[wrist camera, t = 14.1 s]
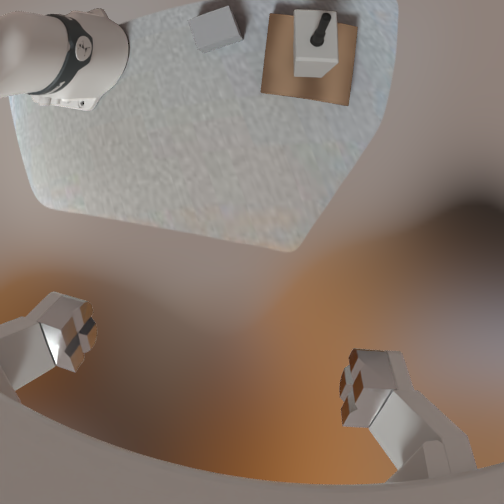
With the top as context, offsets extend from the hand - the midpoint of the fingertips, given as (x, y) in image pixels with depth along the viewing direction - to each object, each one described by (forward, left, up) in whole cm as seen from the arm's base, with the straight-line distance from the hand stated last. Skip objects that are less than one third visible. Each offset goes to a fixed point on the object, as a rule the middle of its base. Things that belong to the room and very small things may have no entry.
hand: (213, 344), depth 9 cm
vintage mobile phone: (+3, +13, -38) cm, 41 cm away
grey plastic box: (-10, +17, -41) cm, 46 cm away
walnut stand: (+3, +14, -41) cm, 44 cm away
